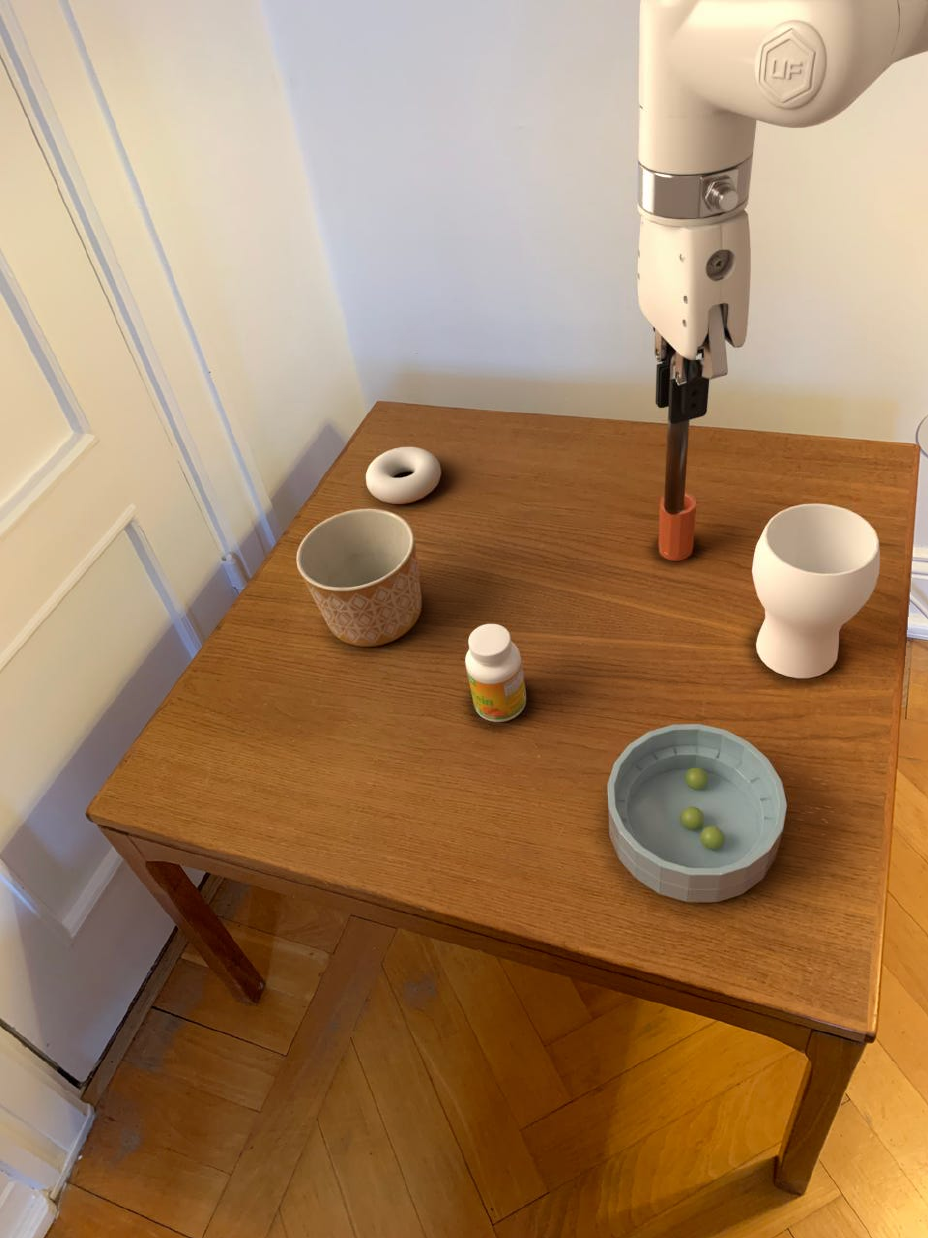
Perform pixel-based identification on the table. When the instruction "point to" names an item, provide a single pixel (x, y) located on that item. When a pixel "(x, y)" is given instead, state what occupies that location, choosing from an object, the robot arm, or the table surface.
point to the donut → (405, 487)
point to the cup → (811, 584)
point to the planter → (363, 575)
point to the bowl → (732, 801)
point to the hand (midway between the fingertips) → (680, 409)
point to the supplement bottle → (495, 673)
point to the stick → (676, 459)
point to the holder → (677, 530)
